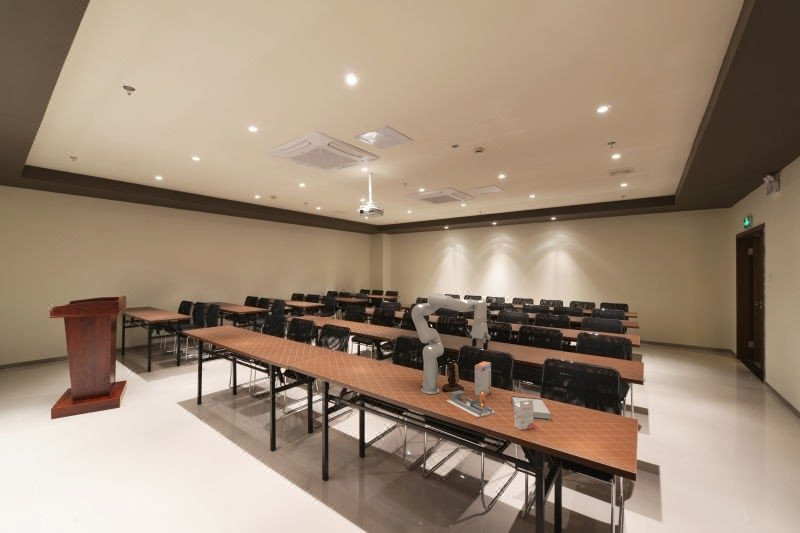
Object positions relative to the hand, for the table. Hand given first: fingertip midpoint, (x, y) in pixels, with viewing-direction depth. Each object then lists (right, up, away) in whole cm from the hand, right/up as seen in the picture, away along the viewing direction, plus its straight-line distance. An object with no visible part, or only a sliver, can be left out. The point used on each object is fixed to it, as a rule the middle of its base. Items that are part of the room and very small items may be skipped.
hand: (479, 347), depth 211 cm
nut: (-11, -32, -5) cm, 35 cm away
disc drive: (+26, -35, -13) cm, 46 cm away
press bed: (-8, -34, -10) cm, 36 cm away
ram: (-4, -32, -17) cm, 36 cm away
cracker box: (+5, -35, +14) cm, 38 cm away
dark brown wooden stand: (-13, -35, +22) cm, 43 cm away
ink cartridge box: (+15, -34, -34) cm, 50 cm away
